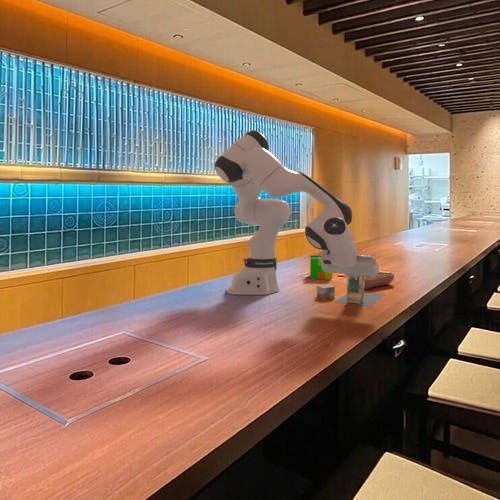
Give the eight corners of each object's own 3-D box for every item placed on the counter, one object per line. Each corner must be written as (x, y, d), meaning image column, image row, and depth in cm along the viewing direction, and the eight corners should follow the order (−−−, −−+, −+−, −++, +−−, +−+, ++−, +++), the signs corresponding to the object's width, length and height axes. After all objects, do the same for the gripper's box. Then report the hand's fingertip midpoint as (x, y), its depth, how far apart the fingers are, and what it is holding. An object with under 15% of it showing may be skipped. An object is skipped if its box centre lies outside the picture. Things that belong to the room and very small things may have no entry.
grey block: (323, 300, 181) (324, 288, 180) (316, 298, 186) (316, 285, 185) (334, 299, 183) (334, 286, 183) (327, 296, 188) (327, 284, 187)
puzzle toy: (330, 275, 234) (330, 255, 233) (332, 279, 224) (332, 258, 223) (310, 275, 235) (310, 255, 234) (311, 279, 225) (311, 258, 224)
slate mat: (370, 307, 169) (370, 306, 169) (333, 303, 176) (333, 302, 176) (385, 295, 188) (385, 294, 188) (351, 292, 195) (351, 291, 195)
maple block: (359, 303, 173) (361, 266, 171) (346, 302, 175) (348, 265, 174) (363, 301, 177) (365, 264, 176) (350, 299, 180) (352, 263, 178)
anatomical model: (365, 292, 195) (366, 280, 195) (347, 288, 203) (347, 277, 202) (398, 285, 209) (398, 274, 209) (379, 282, 217) (379, 271, 216)
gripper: (376, 249, 159) (383, 273, 169) (320, 246, 170) (330, 269, 179) (372, 264, 156) (380, 287, 166) (315, 260, 166) (325, 282, 176)
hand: (353, 278), depth 172 cm, fingers closed, pressing on maple block
